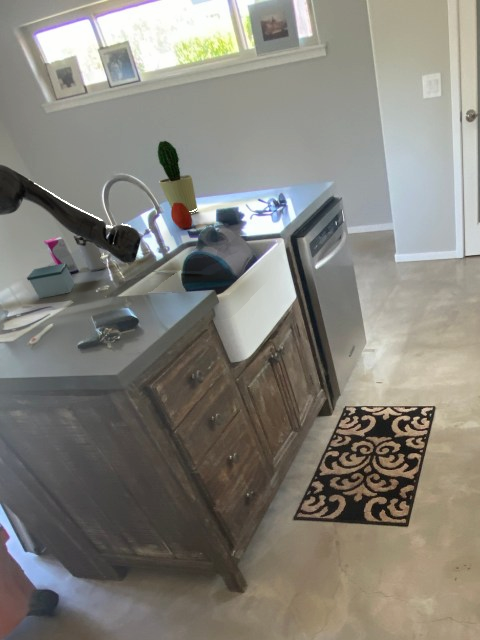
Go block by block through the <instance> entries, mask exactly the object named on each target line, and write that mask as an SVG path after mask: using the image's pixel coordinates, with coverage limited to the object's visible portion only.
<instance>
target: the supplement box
mask: <svg viewBox="0 0 480 640" xmlns="http://www.w3.org/2000/svg"><path fill="white" fill-rule="evenodd" d="M43 242H44V244H45V246H46V248H47V250H48V252H49V254H50V257H51V258H52V260H53V262H54V263H55V264H54V265H59V264H64V263H66V264H67V268H68V270H69V272H70V274H71V275H72V274H74V273H78V272H79V271H80V270H79V268H78V266H77V264H76V262H75V260H74V257H73V255H72V254H71V252H70V250H69V248H68V246H67V244H66V242H65V240H64V238H63V237H61V236H56V237H52V238H50V239H46V240H43Z"/></svg>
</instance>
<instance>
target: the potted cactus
mask: <svg viewBox="0 0 480 640" xmlns="http://www.w3.org/2000/svg"><path fill="white" fill-rule="evenodd" d="M174 146H175V145H174V144H172V143H170V141H167V140H166V139H164V140H160V141H159V143H158V145H157V148H155V149H156V150H157V159H158V163H159V165H161V167H162V169H163V171H164V174H165V175H166V178H162V179H160V180H159V181H158V183H159V186H160V187H161V190H162V191H163V194H164V196H165V198H166V201H167V203H168V204H169V206H170V208H171V209H172V205H173V204H174V203H179V202H180V203H182V204H184V205H185V206H186V208H187V209H188V211H192V210H194V209H196V208H197V210H199V209H198V205H197V200H196V194H195V188H194V183H193V178H192V175H191V174H184V175H182V172H181V167H180V166H179V165H180V164H179V163H180V158H179V156H180V154H178V150H177V148H176V147H174ZM176 201H177V202H176ZM197 210H196V211H197ZM196 211H194V212H196ZM194 212H190V214H191V213H194Z"/></svg>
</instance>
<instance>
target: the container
mask: <svg viewBox="0 0 480 640" xmlns="http://www.w3.org/2000/svg"><path fill="white" fill-rule="evenodd" d="M26 279H27V281H29V282H30V284H31V287H32V288H33V290H34V291H35V293H36V295H37V296H38V299H43V298H50V297H55V296H59V295H66V294H70V293H71V291H72V290H73V288H74V287H75V285H76V283H75V282H76V281H74V279H73V277H72V273H71V274H70V272H69V270H68V268H67V264H66V263H64V264H59V265H56V264H54V265H49V266H44V267H43V266H42V267H38V268H33V270H32V271H31V272H30V274H29V275H28V276H27V277H26Z"/></svg>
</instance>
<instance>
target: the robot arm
mask: <svg viewBox="0 0 480 640" xmlns="http://www.w3.org/2000/svg"><path fill="white" fill-rule="evenodd" d="M23 201H28V202H29V203H32V204H35V205H37V206H39V207H40V208H42V209H43V210H44V211H46V212H48V214H49V215H51V217H52V218H54V219H55V220H56V221H57V223H58V224H60V225H61V226H62V227H63V228H65V229H66V230H67V231H70V233H72V234H74V235H73V236H72V237H73V238H74V241H75V243H76V245H77V244H78V245H81V246H85V245H86V242H87V243H88V244H91V243H94V244H95V245H96V246H97V247H99V249H100V250H101V249H102V250H104V251H107V252H108V253H109V254H110V255H112V256H113V257H114V258H116V259H117V260H119V262H121V263H124V264H134V263H135V261H136V259H137V256H138V253H139V248H140V246H141V242H142V236H141V234H140V232H139V231H138V230H137V229H136V228H135V227H133V226H131V225H128V224H123V223H121V224H117V225H116V224H111V225H108V224H107V223H106V222H105V220H103V219H101V218H99V217H98V216H95V215H93V214H90V213H88V212H86V211H85V210H82V209H80V208H78V207H76V206H74V205H72V204H70V203H69V202H67V201H65V200H63V199H61V198H60V197H59V196H57V195H55V194H54V193H52V192H50V191H49V190H47V189H45V188H44V187H43V186H41V185H39V184H37V183H36V182H34V181H33V180H31V179H30V178H28V177H26V176H25V175H24V174H22V173H20V172H18V171H17V170H15V169H13V168H11V167H9V166H8V165H4V164H0V216H5V215H10V214H13V213H16V211H18V210H19V208H20V207H21V205H22V203H23ZM78 245H77V246H78Z"/></svg>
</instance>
